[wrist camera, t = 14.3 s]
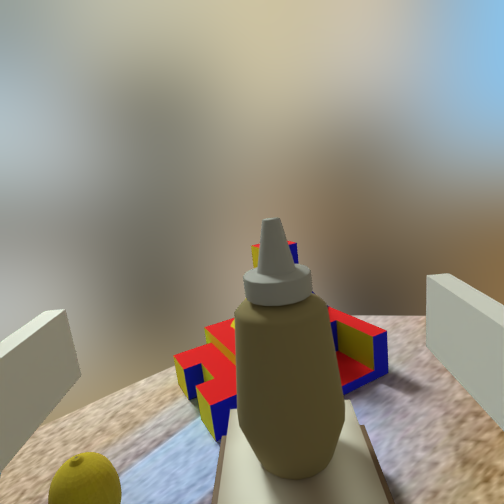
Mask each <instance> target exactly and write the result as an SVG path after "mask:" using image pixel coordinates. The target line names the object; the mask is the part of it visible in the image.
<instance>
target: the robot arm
mask: <svg viewBox="0 0 504 504" xmlns="http://www.w3.org/2000/svg"><path fill="white" fill-rule="evenodd" d="M426 306H427V307H426V347H427V348H428V349H429V350H430V351H431V352H432V353H433V354H434V355H435V356H436V357H437V359H438V360H439V361H440V362H441V363H442V364H443V365H444V366H445V367H446V368H447V370H448V371H449V372H450V373H451V374H452V375H453V376H454V377H455V378H456V379H457V380H458V382H459V383H460V384H461V385H462V386H463V387H464V388H465V389H466V390H467V391H468V392H469V394H470V395H471V396H472V397H473V398H474V399H475V400H476V401H477V402H478V403H479V405H480V406H481V407H482V408H483V409H484V410H485V411H486V412H487V413H488V414H489V415H490V417H491V418H492V419H493V420H494V421H495V422H496V423H497V424H498V425H499V426H500V427H501V429H502V430H503V431H504V305H502V304H501V303H499V302H497V301H495V300H494V299H492V298H490V297H489V296H487V295H485V294H483V293H482V292H480V291H478V290H477V289H474V288H473V287H471V286H469V285H468V284H466V283H464V282H463V281H461V280H459V279H458V278H456V277H454V276H452V275H451V274H437V275H427V302H426ZM80 377H81V372H80V368H79V364H78V359H77V355H76V351H75V347H74V344H73V339H72V335H71V331H70V327H69V323H68V319H67V314H66V310H65V309H63V310H62V309H61V310H51V311H44V312H43V313H42V314H40V315H39V316H37V317H36V318H34V319H33V320H31V321H30V322H29V323H27V324H26V325H24V326H23V327H22V328H20V329H19V330H17V331H16V332H14V333H13V334H11V335H10V336H9V337H7V338H6V339H4V340H3V341H1V342H0V476H1V472H2V470H3V469H4V468H5V467H6V466H7V464H8V463H9V462H10V461H11V460H12V458H13V457H14V456H15V455H16V454H17V452H18V451H19V450H20V449H21V448H22V446H23V445H24V444H25V443H26V442H27V440H28V439H29V438H30V437H31V435H32V434H33V433H34V432H35V431H36V429H37V428H38V427H39V426H40V425H41V423H42V422H43V421H44V420H45V419H46V417H47V416H48V415H49V414H50V412H51V411H52V410H53V409H54V408H55V407H56V405H57V404H58V403H59V402H60V401H61V399H62V398H63V397H64V396H65V395H66V393H67V392H68V391H69V390H70V388H71V387H72V386H73V385H74V384H75V382H76V381H77V380H78V379H79V378H80Z"/></svg>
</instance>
